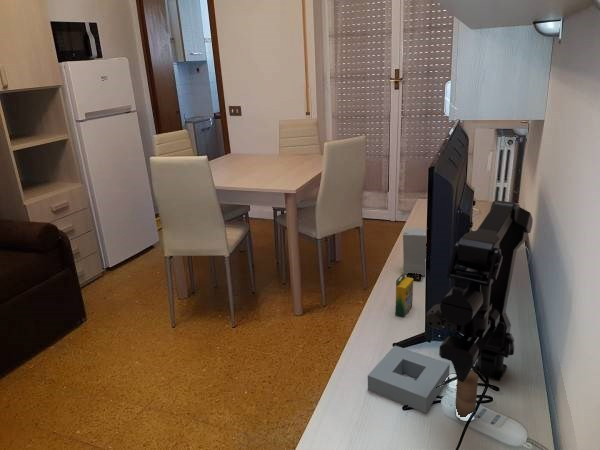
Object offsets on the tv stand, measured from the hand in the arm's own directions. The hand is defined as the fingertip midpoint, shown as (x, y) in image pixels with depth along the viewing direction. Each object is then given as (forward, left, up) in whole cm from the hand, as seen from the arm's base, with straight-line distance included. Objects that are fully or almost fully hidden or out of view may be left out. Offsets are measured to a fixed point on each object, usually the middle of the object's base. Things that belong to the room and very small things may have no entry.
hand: (468, 368), depth 94 cm
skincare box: (-60, -37, -12) cm, 71 cm away
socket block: (-3, -14, -12) cm, 18 cm away
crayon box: (-33, -29, -12) cm, 45 cm away
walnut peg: (0, 0, -12) cm, 12 cm away
